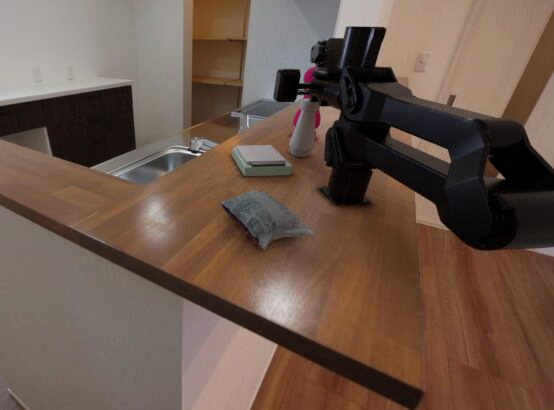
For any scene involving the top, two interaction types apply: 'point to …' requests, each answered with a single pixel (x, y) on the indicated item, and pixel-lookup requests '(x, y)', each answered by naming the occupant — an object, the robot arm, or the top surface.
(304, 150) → the salt shaker
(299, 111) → the pepper mill
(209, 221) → the top surface
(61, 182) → the top surface
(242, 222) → the packaged food
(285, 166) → the scale
